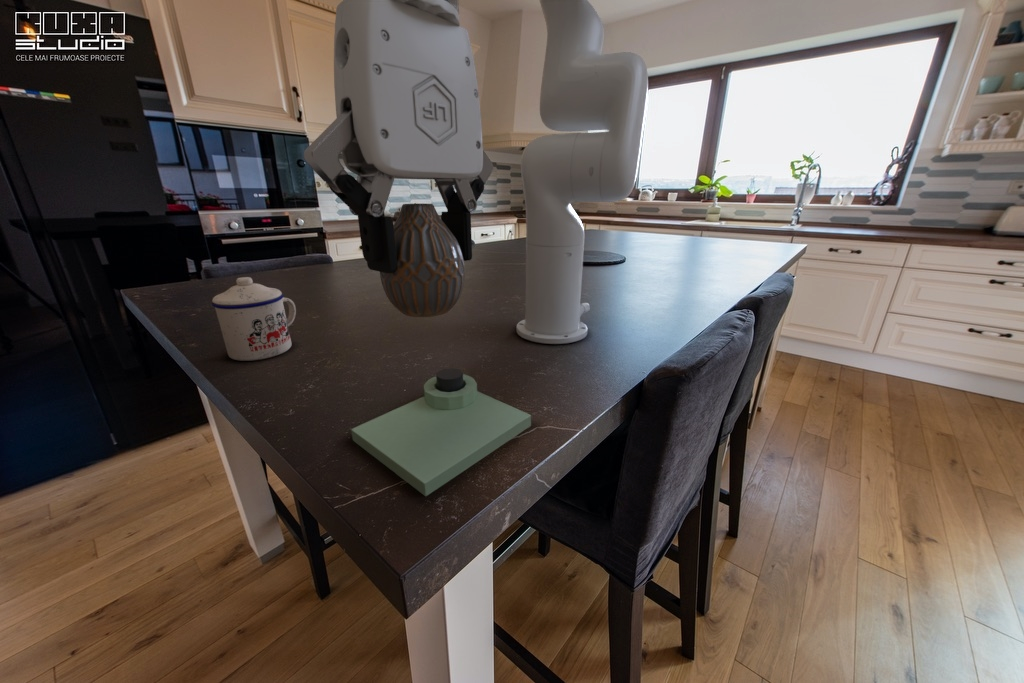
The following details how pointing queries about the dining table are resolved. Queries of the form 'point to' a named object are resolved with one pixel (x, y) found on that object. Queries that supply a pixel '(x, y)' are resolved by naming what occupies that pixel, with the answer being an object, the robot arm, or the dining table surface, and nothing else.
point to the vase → (424, 264)
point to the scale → (440, 434)
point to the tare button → (449, 380)
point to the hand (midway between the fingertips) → (422, 262)
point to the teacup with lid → (254, 320)
